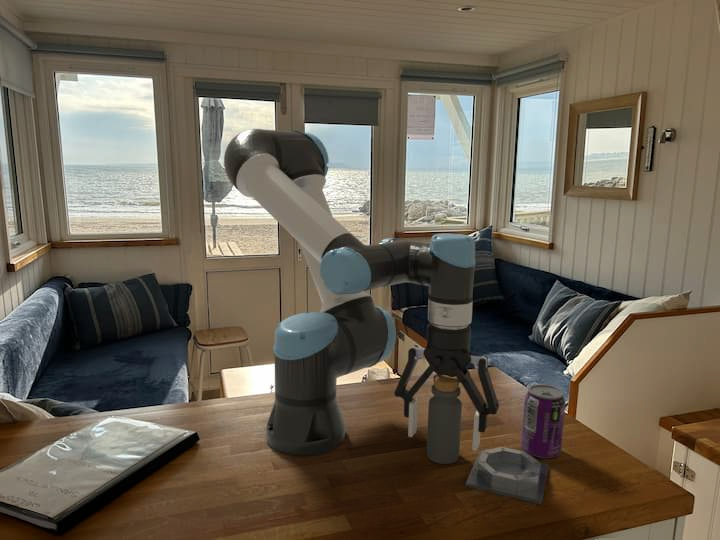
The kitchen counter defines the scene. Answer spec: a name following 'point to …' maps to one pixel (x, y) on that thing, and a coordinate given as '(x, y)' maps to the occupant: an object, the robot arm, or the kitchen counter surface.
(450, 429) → the bottle
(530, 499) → the ring seat
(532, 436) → the beverage can
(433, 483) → the kitchen counter surface
